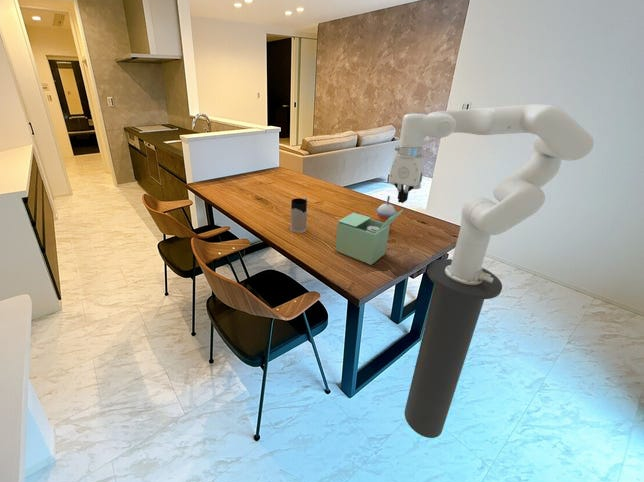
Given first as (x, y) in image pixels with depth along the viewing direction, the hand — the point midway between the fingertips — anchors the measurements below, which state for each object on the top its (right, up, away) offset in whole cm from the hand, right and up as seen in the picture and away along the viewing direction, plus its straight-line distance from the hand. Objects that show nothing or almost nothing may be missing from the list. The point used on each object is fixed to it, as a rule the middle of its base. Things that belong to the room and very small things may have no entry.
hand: (401, 201), depth 109 cm
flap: (-3, -7, +6) cm, 9 cm away
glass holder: (-33, -11, +43) cm, 55 cm away
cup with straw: (+8, -13, +39) cm, 42 cm away
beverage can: (-7, -22, +16) cm, 28 cm away
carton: (-10, -21, +19) cm, 30 cm away
